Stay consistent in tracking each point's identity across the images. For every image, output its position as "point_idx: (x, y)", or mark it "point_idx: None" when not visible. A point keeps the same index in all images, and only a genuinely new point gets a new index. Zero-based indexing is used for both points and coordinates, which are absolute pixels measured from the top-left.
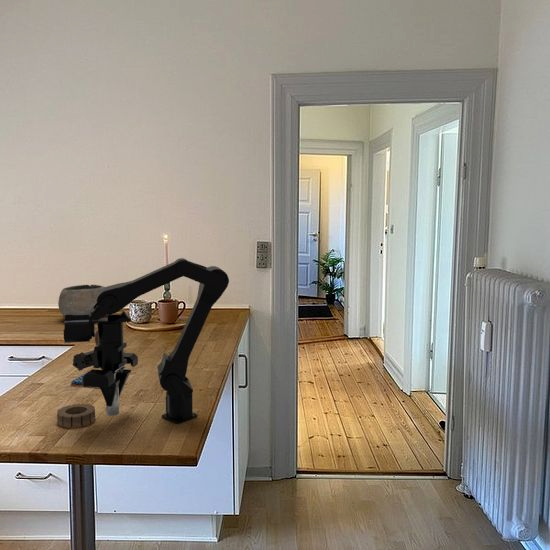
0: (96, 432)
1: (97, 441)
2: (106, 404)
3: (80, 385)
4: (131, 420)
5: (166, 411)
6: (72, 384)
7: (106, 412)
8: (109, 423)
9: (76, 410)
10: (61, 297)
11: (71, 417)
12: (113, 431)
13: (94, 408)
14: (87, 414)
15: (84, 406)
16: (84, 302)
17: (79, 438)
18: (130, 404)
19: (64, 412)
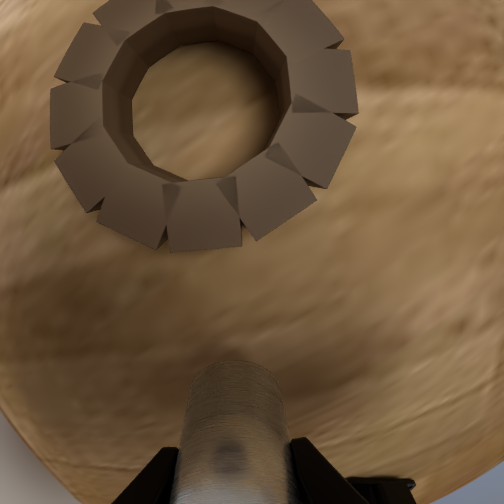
0: (97, 332)
1: (40, 374)
2: (186, 434)
3: None
4: (299, 414)
5: (370, 492)
6: None
7: (197, 383)
8: (227, 340)
9: (270, 52)
10: None
11: (65, 145)
12: (145, 400)
13: (282, 219)
14: (137, 241)
15: (301, 102)
16: None
17: (18, 285)
18: (489, 294)
19: (126, 33)
